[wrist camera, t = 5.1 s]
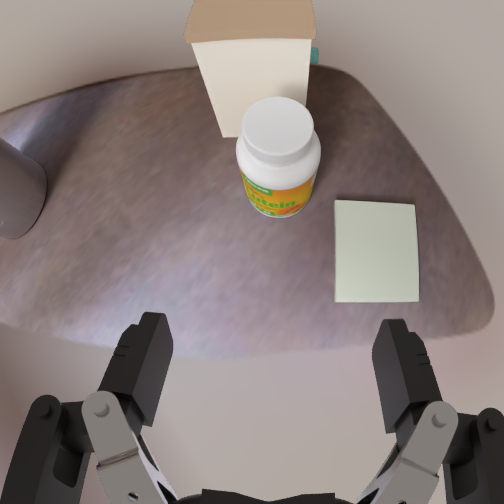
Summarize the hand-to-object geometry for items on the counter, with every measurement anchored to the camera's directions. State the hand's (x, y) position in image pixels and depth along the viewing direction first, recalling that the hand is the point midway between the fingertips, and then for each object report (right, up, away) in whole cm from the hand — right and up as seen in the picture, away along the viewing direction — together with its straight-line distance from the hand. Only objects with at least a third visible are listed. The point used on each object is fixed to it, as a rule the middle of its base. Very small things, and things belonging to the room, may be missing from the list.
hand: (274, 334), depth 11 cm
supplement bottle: (+1, +8, +15) cm, 17 cm away
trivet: (+9, +3, +13) cm, 16 cm away
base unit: (0, +16, +16) cm, 22 cm away
